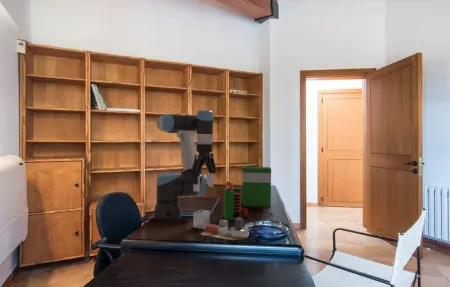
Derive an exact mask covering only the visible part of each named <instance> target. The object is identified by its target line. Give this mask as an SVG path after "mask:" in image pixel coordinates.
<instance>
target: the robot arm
mask: <svg viewBox="0 0 450 287" xmlns="http://www.w3.org/2000/svg"><path fill="white" fill-rule="evenodd" d="M156 127H157V129H158V130H160V131H161V132H163V133H164V132H165V133H168V134H176V137H177V138H178V139H179V143H180V145H179V146H180V154H181V161H182V169H183V171H182V172H181V174H180V173H179V172H177V171H176V172H175V171H174V172H165V173H162V174H159V175H158V176H157V177H156V202H155V206H154V209H153V213H152V219H154V220H156V221H162V222H168V221H175V220H180V219H181V218H182V216H183V212H182V210H181V209H182V208H181V205H180V203H179V202H180V198H185V197H186V198H187V197H200V196H203V195H205V193H206V189H207V187H210V188H214V178H215V176H214V174H216V172H217V167H216V163H215V158H214V153H213V152H214V151H213V149H214V148H213V141H214V140H213V139H214V135H213V131H214V113H213V111H212V110H208V109H201V110H200V109H199V110H197V112H196V115H193V114H178V113H177V114H175V113H167V114H163V115H160V116H159V117H158V118H157V119H156ZM195 136H196V143H197V144H195ZM197 153H198V154H197ZM204 165H206V168H207V170H208V173H207V175H206V174H204V173H203V171H202V168H203V166H204Z"/></svg>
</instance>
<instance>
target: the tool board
mask: <svg viewBox="0 0 450 287" xmlns="http://www.w3.org/2000/svg"><path fill="white" fill-rule="evenodd" d="M200 235H202V236H203V235H204V236H207V237H213V238H219V239H223V240H228V241H229V240H230V241H234V240H238V239H233V238H231V237H230V236H227V235H221V234H214V233H209V232H205V231H203V232H201V233H200Z"/></svg>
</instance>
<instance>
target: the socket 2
mask: <svg viewBox="0 0 450 287" xmlns="http://www.w3.org/2000/svg"><path fill="white" fill-rule="evenodd" d="M218 225H220V226H221V227H225V228H229V220H226V219H220V220H219V221H218Z"/></svg>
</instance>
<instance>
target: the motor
mask: <svg viewBox="0 0 450 287" xmlns="http://www.w3.org/2000/svg"><path fill="white" fill-rule="evenodd" d="M225 186H229V188H228V187H227V188H225V189H224V194H223V196H224V197H223V202H224V203H223V220H228V221H235V219H237V218H242V217H241V216H242V215H241V213H240V210H241V206H242V189H241V188H237V187H236V188H235V187H234V184H233V181H231V180H227V181H226V182H225Z"/></svg>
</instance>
